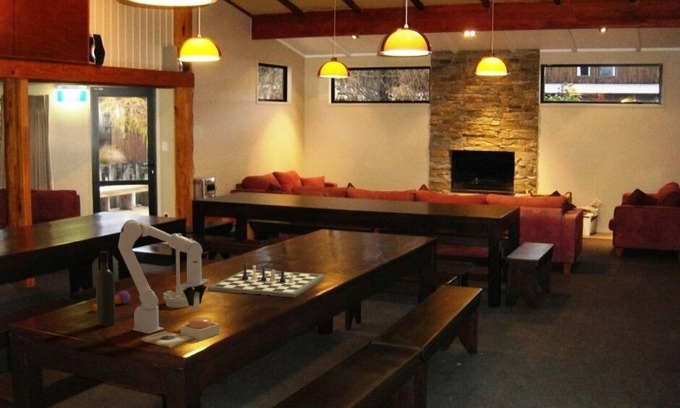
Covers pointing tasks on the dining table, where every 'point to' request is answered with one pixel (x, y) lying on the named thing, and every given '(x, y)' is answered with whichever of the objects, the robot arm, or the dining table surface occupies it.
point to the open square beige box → (200, 331)
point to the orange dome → (200, 322)
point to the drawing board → (167, 339)
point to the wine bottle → (105, 293)
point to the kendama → (116, 299)
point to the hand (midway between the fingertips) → (194, 304)
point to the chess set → (267, 282)
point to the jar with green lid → (195, 301)
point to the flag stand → (177, 297)
